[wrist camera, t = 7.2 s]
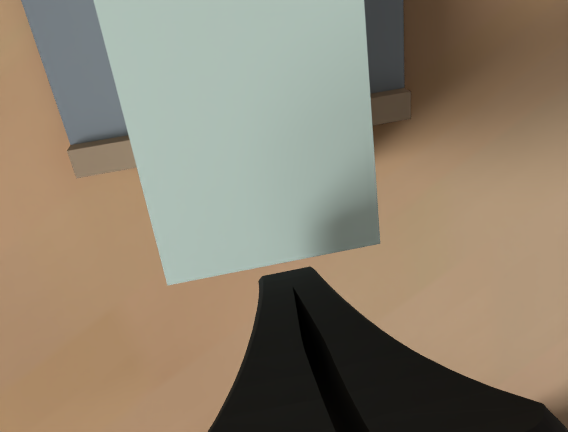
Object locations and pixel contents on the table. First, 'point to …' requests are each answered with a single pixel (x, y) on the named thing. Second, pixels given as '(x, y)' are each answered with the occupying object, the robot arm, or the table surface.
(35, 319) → the table surface
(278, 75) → the sage block
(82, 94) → the mat
